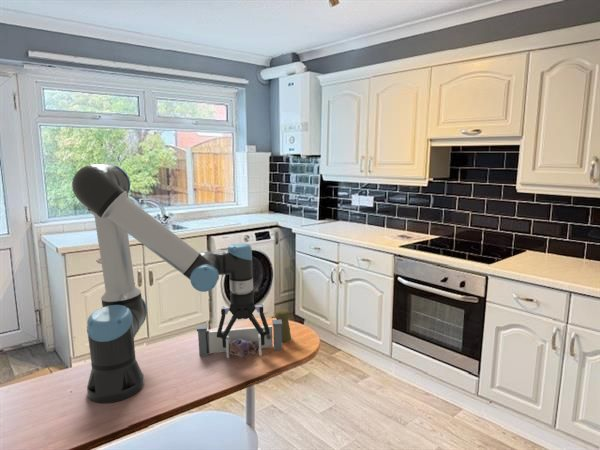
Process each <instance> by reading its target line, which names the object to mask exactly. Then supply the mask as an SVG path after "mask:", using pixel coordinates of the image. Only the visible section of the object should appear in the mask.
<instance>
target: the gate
mask: <svg viewBox="0 0 600 450" xmlns="http://www.w3.org/2000/svg"><path fill="white" fill-rule="evenodd" d="M260 326H261V328H262V329H263V330H265V329H264V326H263V325H260ZM268 327H269V331H270V334H268V335H265V336H264V341H265V344H264V345H261V349H267V348H274V344H273V324H272V325H268ZM217 331H218V329H217V330H207V331H206V337H207V355H209V354H217V353H225V352H226V348H223V341H222V338H220V337H219V338H218V337H217ZM224 331H225V329H222V331H221V332H222V333H224ZM258 334H259V332H258V331H257V329H256V328H255V326H251V327H239V328H238V327H237V328H231V330H230V331H229V333H228V335H227V336H229V344H230V343H231V342H232V341H234V340H236V339H244V340H248V341H250V342H255V341H259V335H258Z"/></svg>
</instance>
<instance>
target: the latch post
mask: <svg viewBox="0 0 600 450" xmlns="http://www.w3.org/2000/svg"><path fill="white" fill-rule="evenodd" d="M271 321H272V323H271V324H272V334H273V349H274V352H275V351H283V345H282V344H283V343H282V331H281V326H282V320H277V319H272V320H271Z"/></svg>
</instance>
